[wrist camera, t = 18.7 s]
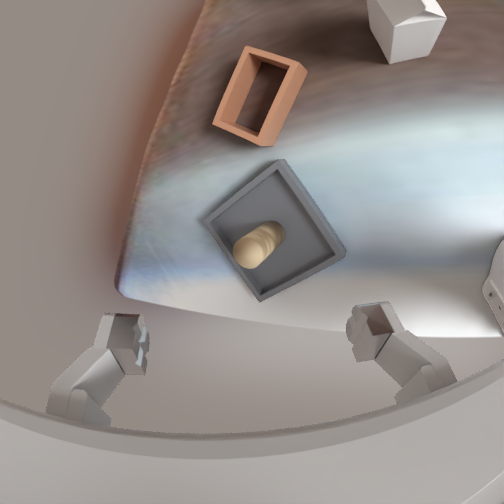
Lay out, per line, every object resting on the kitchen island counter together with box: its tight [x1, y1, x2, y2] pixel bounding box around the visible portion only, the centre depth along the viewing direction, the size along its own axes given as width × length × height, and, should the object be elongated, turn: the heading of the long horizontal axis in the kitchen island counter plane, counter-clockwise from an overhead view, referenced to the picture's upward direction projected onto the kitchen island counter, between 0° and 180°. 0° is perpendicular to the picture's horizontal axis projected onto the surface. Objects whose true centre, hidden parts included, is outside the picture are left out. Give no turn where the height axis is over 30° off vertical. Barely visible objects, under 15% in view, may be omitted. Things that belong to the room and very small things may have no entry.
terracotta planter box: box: [212, 46, 308, 146], centre depth 39 cm, size 9×14×6 cm, turn 156°
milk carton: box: [366, 0, 447, 64], centre depth 21 cm, size 7×7×19 cm
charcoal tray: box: [203, 159, 346, 302], centre depth 48 cm, size 18×18×3 cm
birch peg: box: [233, 221, 285, 269], centre depth 44 cm, size 4×4×10 cm
